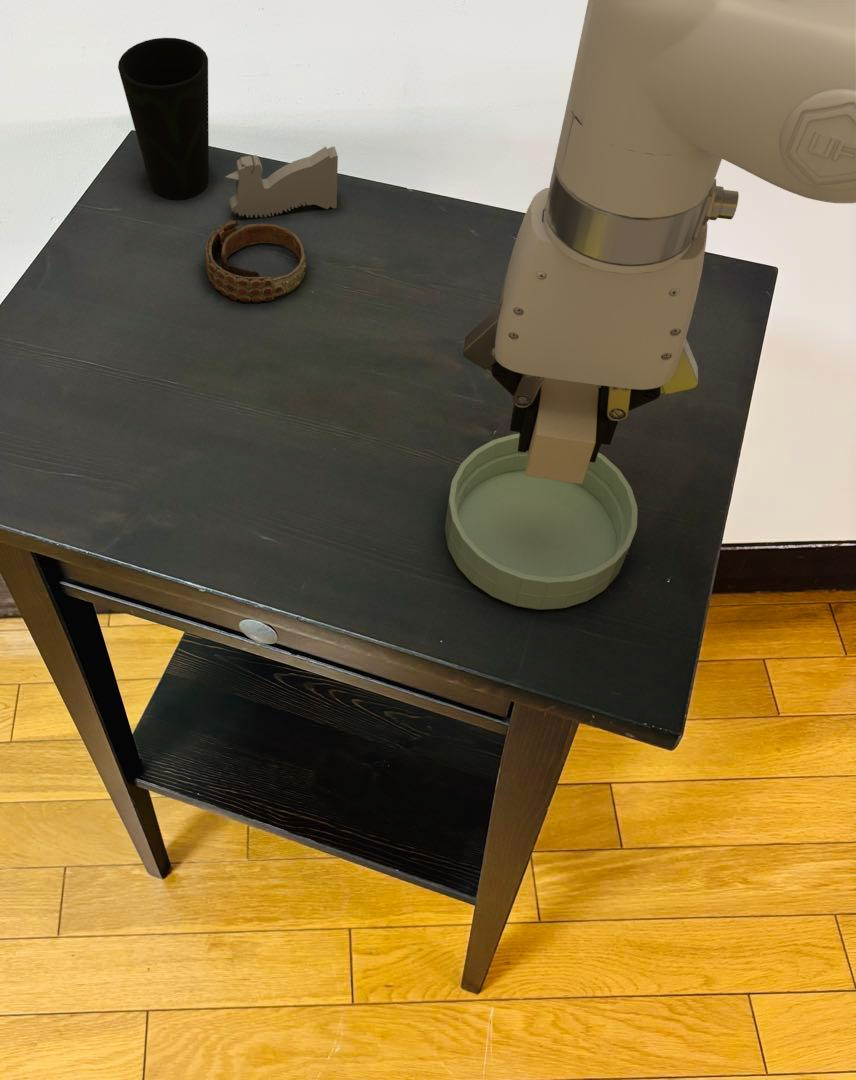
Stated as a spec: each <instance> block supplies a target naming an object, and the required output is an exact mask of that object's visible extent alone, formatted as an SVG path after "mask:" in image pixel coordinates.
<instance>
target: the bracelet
mask: <svg viewBox="0 0 856 1080" xmlns="http://www.w3.org/2000/svg"><path fill="white" fill-rule="evenodd" d="M240 223H241V222H240V220H234V219H232V220H229V221H227V222H226V223H221V224H220V225H218V226H217V228H216V229H214V230H213V231H212V232H211V233H210V235H209V237H208V238H207V239H206V244H205V247H204V260H205V270H206V275H207V278H208V281H209V282H210V283H211V286H212V287H213V288H214V289H215V290H216V291H219V292H220V293H221V294H222V296H226V297H227V296H228V297H229V298H230V299H231V300H234V301H237V300H239V301H240V302H245V303H250V302H253V303H255V304H257V303H258V304H259V303H260V302H267V303H268V302H271V301H273V300H274V299H275V298H276V297H279V296H282V295H285V294H286V295H287V294H288V293H290V292H293V291H294V290H295V289H296V288H297V287H299V285H301V283H302V281H303V279H304V277H305V275H306V272H305V269H307V266H306V265H307V263H306V260H307V258H306V257H307V255H306V254H305V248H304V245H303V244H302V242H301V240H300V238H299V237H298V236H297V235H296V234H295V233H294V232H292V231H291V230H290V229H288V228H287V227H283V226H280V225H278V224H273V223H272V224H271V223H251V224H246V225H243V226H242V227H240V228H237V227H239V226H240ZM262 243H263V244H264V243H268V244H269V243H270V244H276V245H280V246H283V247H285V248H286V249H288V250H291V251H292V252H293V253H294V254H295V256H297V259H298V261H299V263H298V264H297V266H296V267H295V268H293V270H292V271H290V272H289V273H287V274H285V275H281V276H277V277H276V276H275V277H271V276H268V275H266V276H261V275H260V274H259V272H258V271H255V270H251V269H245V268H242V267H239V266H236V265H232V264H230V263H228V262H227V260H228V258H229V256H230V255H232V254H233V253H235V252H236V251H238V250H240V249H241V248H244V247H246V246H250V245H254V244H262ZM219 255H220V262H221V263H220V264H221V266H219V264H217V262H216V261H215V260H216V258H217V257H218V256H219Z"/></svg>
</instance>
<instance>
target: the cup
mask: <svg viewBox="0 0 856 1080" xmlns="http://www.w3.org/2000/svg"><path fill="white" fill-rule="evenodd" d="M117 70H118V73H119V76H120V79H121V84H122V88H123V91H124V95H125V98H126V103H127V105H128V109H129V113H130V116H131V117H130V118H131V120H132V123H133V124H132V125H133V128H134V132H135V135H136V138H137V143H138V144H139V149H140V153H141V156H142V161H143V164H144V167H145V171H146V174H147V179H148V182H149V186H150V189H151V190H152V192H153V193H154V194H155V195H157V196H158V197H161V198H163V199H166V200H171V201H181V200H182V201H183V200H188V199H192V198H194V197H197V196H198V195H201V194H202V193H203V192H204V191H205V190H206V189H207V187H208V186H209V182H210V181H209V180H210V177H209V176H210V162H209V160H210V155H209V154H210V151H209V148H210V147H209V145H210V144H209V143H210V142H209V141H210V140H209V137H210V136H209V135H210V133H209V57H208V55H207V52H206V51H204V49H203V48H202V47H201V46H199V45H198V44H197V43H194V42H192V41H189V40H186V39H183V38H176V37H159V38H152V39H147V40H144V41H141V42H138V43H136V44H135V45H133V46H131V47H129V48H128V49H127V50H125V52H124V53H122V55H121V57H120V58H119V60H118V64H117Z"/></svg>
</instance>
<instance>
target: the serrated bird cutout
mask: <svg viewBox="0 0 856 1080" xmlns="http://www.w3.org/2000/svg"><path fill="white" fill-rule="evenodd" d="M338 161H339V155H338V152H337V149H336V147H335V146H330V147H329V148H328V147H327V146H324V147H322V148H321V149H319V150H317V151H316V152H314V153H312V154H311V155H310V156H307V157H302V158H300V159H296V160H293V161H292V162H289V163H287V164H285V165H283V166H281V167H280V168H278V169H277V170H275V171H274V172H273V173H272V174H270V175H269V176H268V177H266V178H262V173H263V166H262V161H261V159H260V158H259V156H258V155H257V154H255V155H253V156H252V155H245V156H240V157H239V159H238V160H236V170H235V171H234V172H231V173H229V174H227V175H225V176H224V178H228V179H231V180H234V181H235V182H236V183H235V194H234V195H232V196H231V197H230V198H229V204H230V208H231V212H232V213H233V212H234V214H235V215H237V214H238V216H239V217H244V216H245V217H246V218H251V219H252V218H253V217H254V218H255V219H257V218H258V217H259V218H267V217H274V216H275V215H276V216H278V215H279V214H283V213H284V212H285V213H288V211H289V212H291V209H292V210H294V209H298V208H300V207H302V206H303V207H305V206H306V205H307V206H312V205H315V206H318V207H320V208H323V209H325V210H328V209H329V208H331V209H337V207H338V169H339V168H338V163H339V162H338ZM283 211H284V212H283Z"/></svg>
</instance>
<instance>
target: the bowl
mask: <svg viewBox="0 0 856 1080" xmlns="http://www.w3.org/2000/svg"><path fill="white" fill-rule="evenodd" d="M519 435H520V433H513V434H508V435H506V436H502V437H499V438H495V439H492V440H490V441H489V442H487V443H485V444H483V445H481V446H480V447H478V448H476V449H475V450H474V451H472V452H471V453H470V454H469V455H468V456H467V457H466V458H465V459H464V460H463V461H462V462H461V463H460V465H459V466H458V469H457V470H456V472H455V474H454V476H453V477H452V480H451V483H450V489H449V490H450V491H449V496H448V504H447V509H446V515H445V523H444V533H445V539H446V544H447V549H448V551H449V553H450V555H451V557H452V559H453V561H454V563H455V564H456V566H457V569H459V570H460V571H461V573H463V575H464V576H465V577H466V578H467V579H468V581H469V582H471V583H472V584H473V585H475V587H477V588H479V589H480V590H482V591H483V592H485V593H487V594H488V595H489V596H491V597H492V598H495V599H497V600H500V601H501V602H503V603H507V604H510V605H513V606H515V607H519V608H520V607H521V608H526V609H532V610H538V611H539V610H542V611H543V610H556V609H564V608H565V609H566V608H570V607H573V606H577V605H579V604H582V603H586V602H588V601H589V600H591V599H593V598H595V597H596V596H598V595H599V594H600V593H602V592H603V591H605V590H606V589H607V588H608V587H609V586H610V585H611V583H612V582H613V581H614V580H615V579H616V577H618V575H619V573H620V571H621V569H622V567H623V564H624V562H625V559H626V556H627V555H628V552H629V549H630V547H631V544H632V541H633V539H634V537H635V534H636V531H637V530H638V512H639V511H638V505H637V501H636V498H635V495H634V492H633V488H632V487H631V485H630V483H629V481H628V480H627V478H626V477H625V476H624V474H623V473H622V471H621V470H620V469H619V468H618V467H617V466H616V465H615V464H614V463H613V462H611V460H609V458H608V457H606V456H605V455H604V454H603V453H600V451H599V452H598V455H597V458H596V461H595V463H593V462H589V464H588V467H587V470H586V473H585V477H584V480H583V483H582V484H578V483H571V482H564V481H557V480H551V479H544V478H537V477H530V476H526V467H527V457H528V451H526V453H525V452H518V444H519Z"/></svg>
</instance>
